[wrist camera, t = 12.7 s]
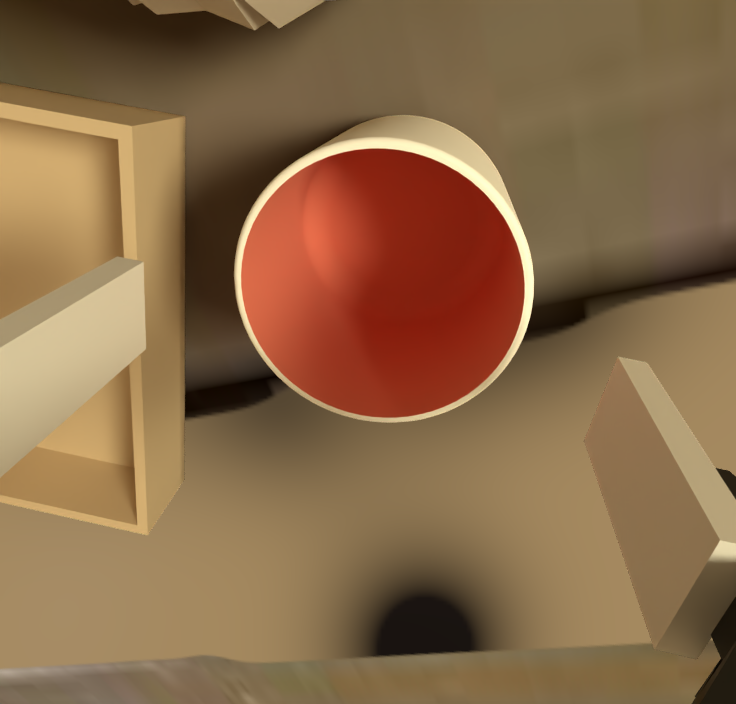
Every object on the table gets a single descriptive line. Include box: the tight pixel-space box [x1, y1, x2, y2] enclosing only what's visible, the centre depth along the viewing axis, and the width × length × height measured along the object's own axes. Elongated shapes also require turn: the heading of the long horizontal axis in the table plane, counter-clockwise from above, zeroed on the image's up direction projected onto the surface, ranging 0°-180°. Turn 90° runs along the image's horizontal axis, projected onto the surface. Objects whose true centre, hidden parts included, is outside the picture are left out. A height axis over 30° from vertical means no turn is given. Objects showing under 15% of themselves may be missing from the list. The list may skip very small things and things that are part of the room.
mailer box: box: [0, 82, 186, 535], centre depth 30 cm, size 22×16×5 cm
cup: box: [234, 115, 534, 422], centre depth 23 cm, size 10×10×10 cm
